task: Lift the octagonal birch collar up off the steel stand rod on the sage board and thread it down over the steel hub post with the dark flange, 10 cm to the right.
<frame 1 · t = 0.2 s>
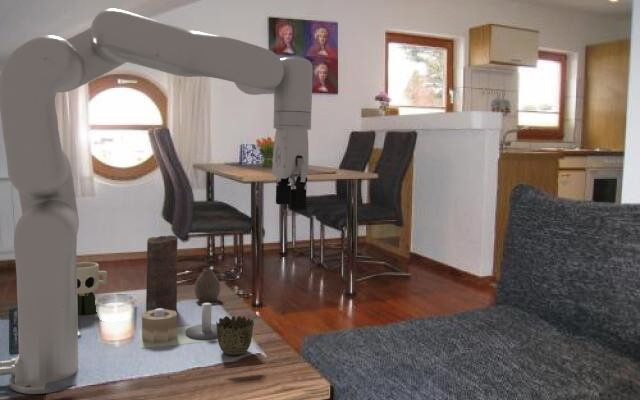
hand: (290, 206, 112), 31 cm above the table, tool pointing down, fingers open, 9 cm apart
collar: (159, 337, 118), point 1 cm above the table, touching hub board
fiber plant pot: (234, 360, 111), on the table
hub board: (183, 341, 120), on the table
vase: (207, 301, 151), on the table
brown log: (161, 317, 137), on the table
character mug: (83, 318, 134), on the table
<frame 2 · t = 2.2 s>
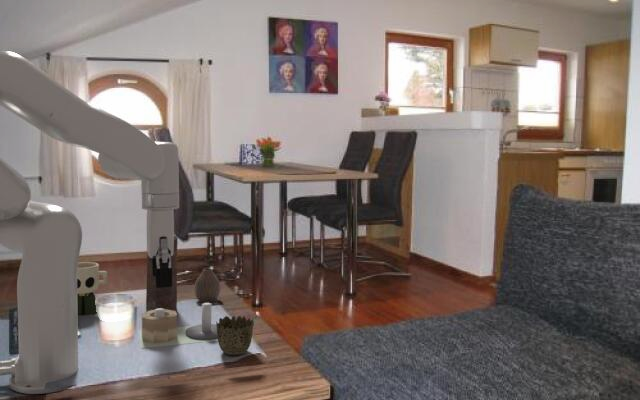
hand: (162, 280, 117), 14 cm above the table, tool pointing down, fingers open, 9 cm apart
nothing on the table moved.
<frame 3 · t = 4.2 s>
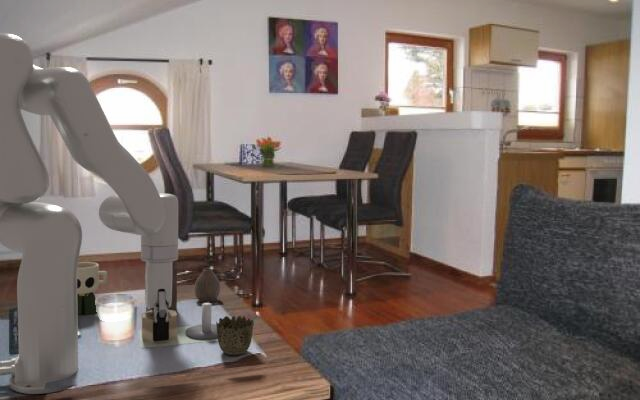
hand: (159, 333, 118), 2 cm above the table, tool pointing down, fingers closed on collar, 7 cm apart
collar: (159, 337, 118), point 1 cm above the table, touching gripper, hub board
everything else where it was.
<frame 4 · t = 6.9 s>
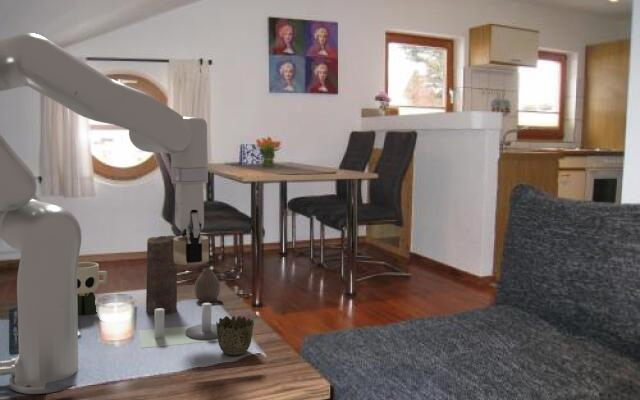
hand: (191, 257, 119), 18 cm above the table, tool pointing down, fingers closed on collar, 7 cm apart
collar: (191, 260, 119), point 18 cm above the table, touching gripper
everything else where it was.
when the fingers open (4 cm above the table, at t = 10.1 s): collar stays where it is, resting on hub board.
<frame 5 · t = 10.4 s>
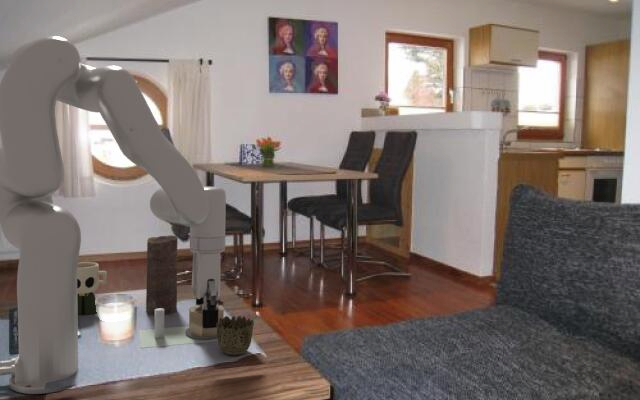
hand: (206, 320, 121), 4 cm above the table, tool pointing down, fingers open, 9 cm apart
collar: (206, 330, 121), point 2 cm above the table, touching hub board
everything else where it was.
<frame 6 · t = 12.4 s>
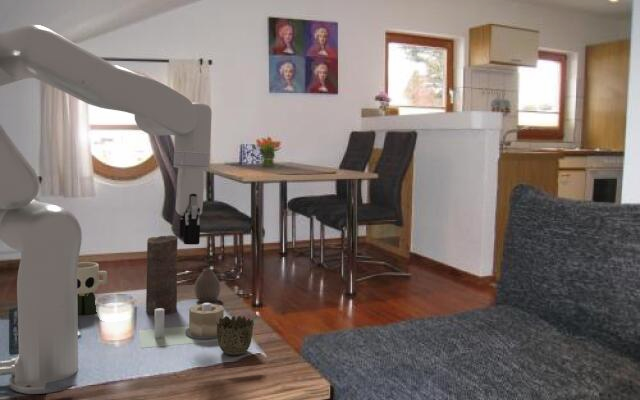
hand: (189, 240, 119), 22 cm above the table, tool pointing down, fingers open, 9 cm apart
nothing on the table moved.
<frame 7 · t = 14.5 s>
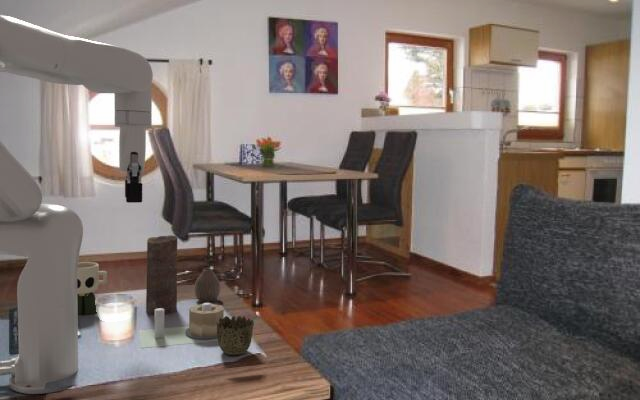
hand: (133, 199, 120), 30 cm above the table, tool pointing down, fingers open, 9 cm apart
nothing on the table moved.
at the end: collar 0.1 cm from the target spot, point 2.0 cm above the table; collar tilted 0°; the gripper is holding nothing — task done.
